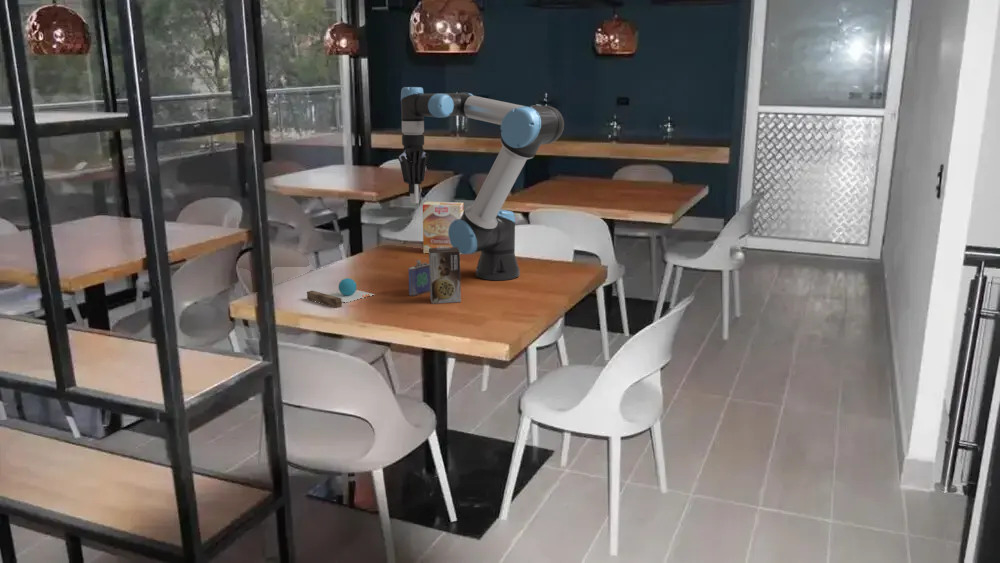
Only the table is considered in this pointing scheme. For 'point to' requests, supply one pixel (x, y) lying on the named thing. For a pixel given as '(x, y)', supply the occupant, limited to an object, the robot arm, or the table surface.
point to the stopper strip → (324, 298)
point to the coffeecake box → (439, 223)
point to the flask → (419, 279)
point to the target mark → (352, 297)
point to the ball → (347, 286)
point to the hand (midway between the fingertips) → (414, 202)
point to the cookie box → (444, 275)
